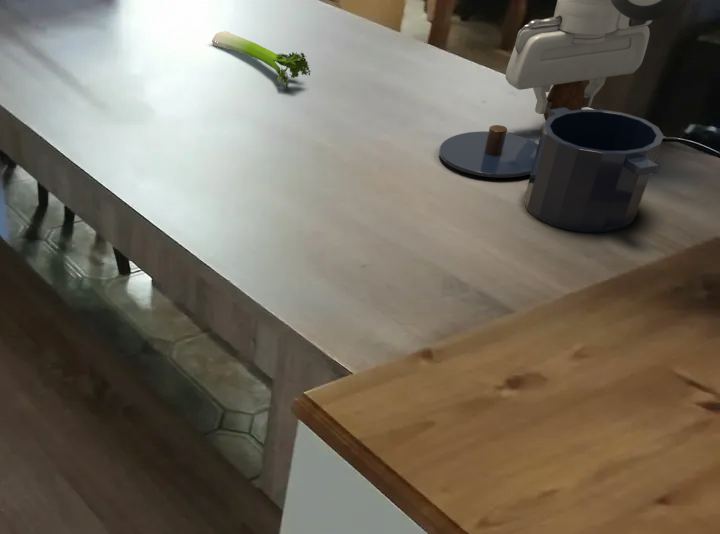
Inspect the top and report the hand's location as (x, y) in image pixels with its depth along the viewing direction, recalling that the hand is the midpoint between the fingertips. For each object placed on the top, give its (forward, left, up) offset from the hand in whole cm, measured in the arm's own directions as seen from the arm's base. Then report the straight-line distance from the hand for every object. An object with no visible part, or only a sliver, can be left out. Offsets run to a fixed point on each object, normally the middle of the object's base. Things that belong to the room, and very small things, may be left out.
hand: (562, 109), depth 140 cm
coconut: (0, 0, -3) cm, 3 cm away
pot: (+12, +24, -3) cm, 27 cm away
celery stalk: (+34, -41, -3) cm, 53 cm away
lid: (+15, +7, -2) cm, 17 cm away
